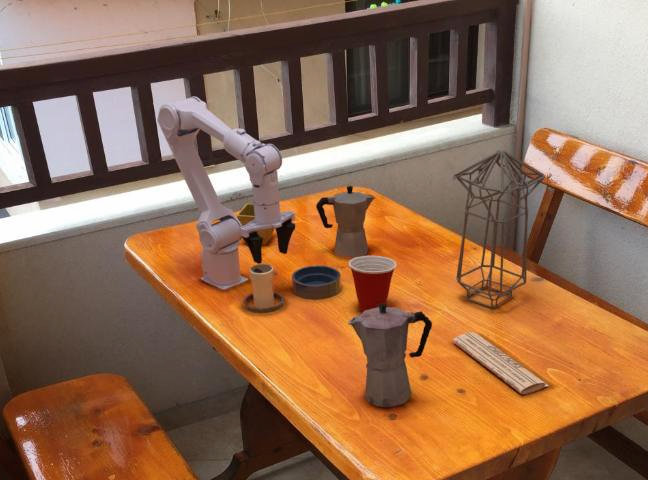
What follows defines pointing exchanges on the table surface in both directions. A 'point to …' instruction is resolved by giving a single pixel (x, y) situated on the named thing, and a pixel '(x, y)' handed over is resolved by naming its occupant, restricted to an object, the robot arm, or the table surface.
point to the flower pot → (248, 216)
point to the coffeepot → (348, 221)
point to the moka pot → (388, 352)
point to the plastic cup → (372, 279)
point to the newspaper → (499, 363)
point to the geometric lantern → (486, 165)
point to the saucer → (263, 310)
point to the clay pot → (262, 285)
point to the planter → (316, 282)
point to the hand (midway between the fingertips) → (270, 257)
